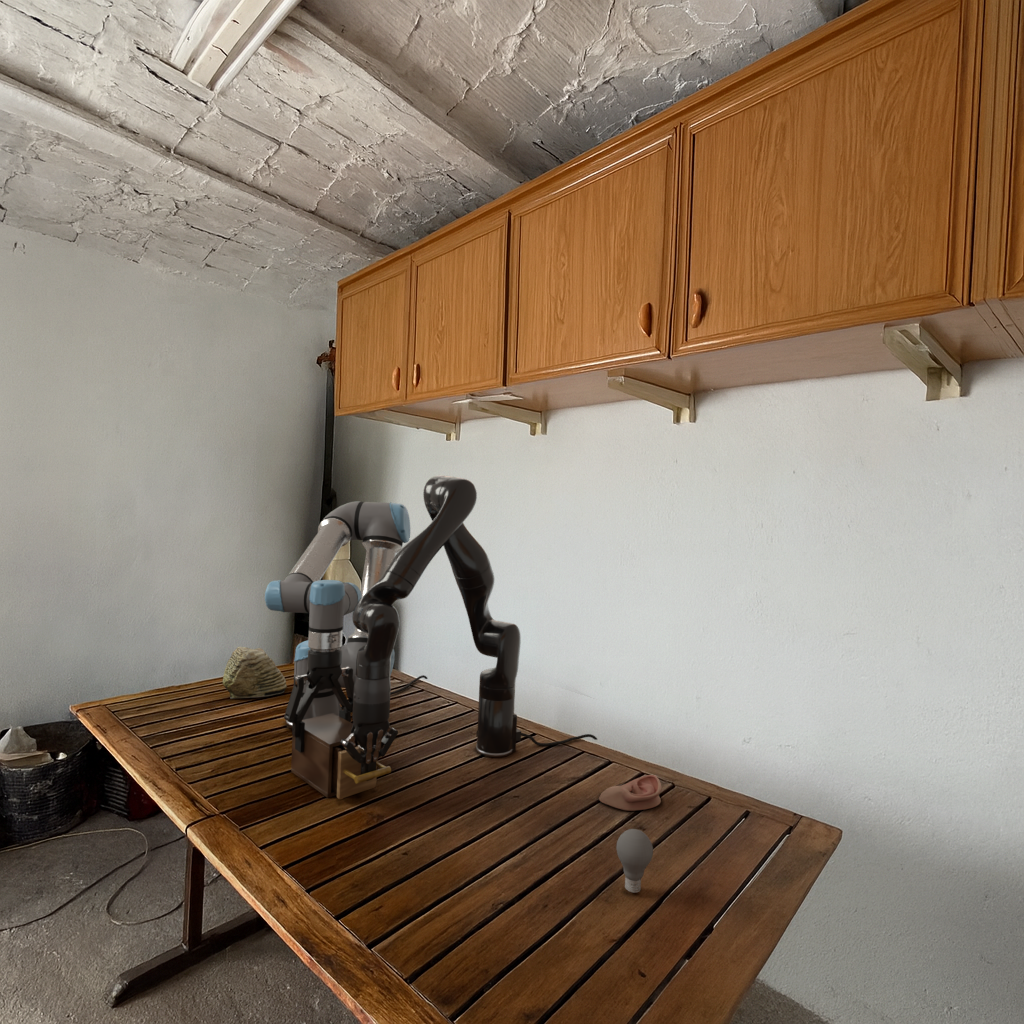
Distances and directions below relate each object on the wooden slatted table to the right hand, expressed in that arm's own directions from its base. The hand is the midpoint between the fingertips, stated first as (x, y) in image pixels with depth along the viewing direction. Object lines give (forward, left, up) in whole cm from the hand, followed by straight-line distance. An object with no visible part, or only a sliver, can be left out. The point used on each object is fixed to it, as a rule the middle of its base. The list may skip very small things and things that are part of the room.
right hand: (368, 778), depth 132 cm
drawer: (+2, -8, -4) cm, 9 cm away
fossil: (+14, -82, -5) cm, 83 cm away
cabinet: (+5, -15, -5) cm, 16 cm away
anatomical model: (-53, +20, -5) cm, 57 cm away
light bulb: (-32, +47, -5) cm, 57 cm away
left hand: (+6, -19, +1) cm, 20 cm away
